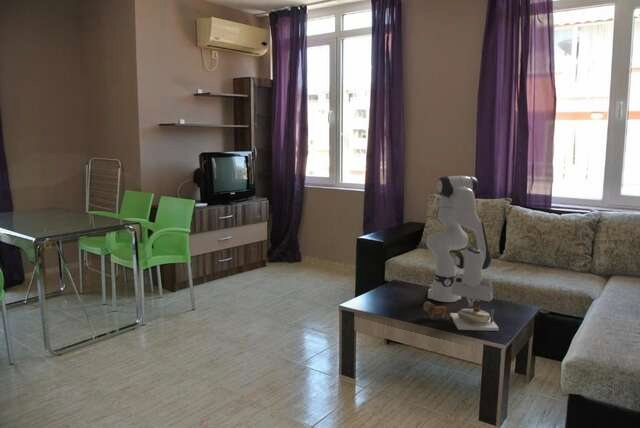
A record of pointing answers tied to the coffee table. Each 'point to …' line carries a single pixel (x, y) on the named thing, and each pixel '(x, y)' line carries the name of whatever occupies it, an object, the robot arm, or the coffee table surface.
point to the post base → (474, 323)
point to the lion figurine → (436, 310)
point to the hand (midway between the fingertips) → (470, 306)
